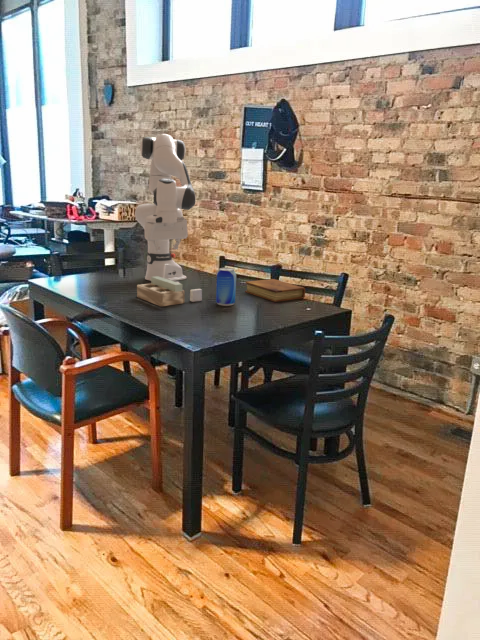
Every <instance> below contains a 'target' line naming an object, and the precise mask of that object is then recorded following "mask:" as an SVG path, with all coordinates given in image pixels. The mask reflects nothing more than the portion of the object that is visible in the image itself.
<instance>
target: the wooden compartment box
mask: <svg viewBox="0 0 480 640" xmlns="http://www.w3.org/2000/svg"><path fill="white" fill-rule="evenodd" d="M159 291H162V292H159ZM136 293H137V294H136V297H137V298H138V299H141V300H144V301H146V302H149V303H151V304H154V305H156V306H159V307H166V306H173V305H174V306H175V305H179V304H185V295H186V294H185V290H184V289H182V291H178V292H175V291H172V290H169V289H166V288H163V287H160V286H157V285H155V284H152V283H151V282H149V283H141V284H136Z"/></svg>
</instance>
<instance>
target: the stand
mask: <svg viewBox="0 0 480 640" xmlns="http://www.w3.org/2000/svg"><path fill="white" fill-rule="evenodd" d="M176 282H177V283H180V284H181V282H180V281H176ZM189 292H190V293H189V301H190V302H193V303H194V302H200V301H203V289H201V288H195V289H190V291H189Z"/></svg>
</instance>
